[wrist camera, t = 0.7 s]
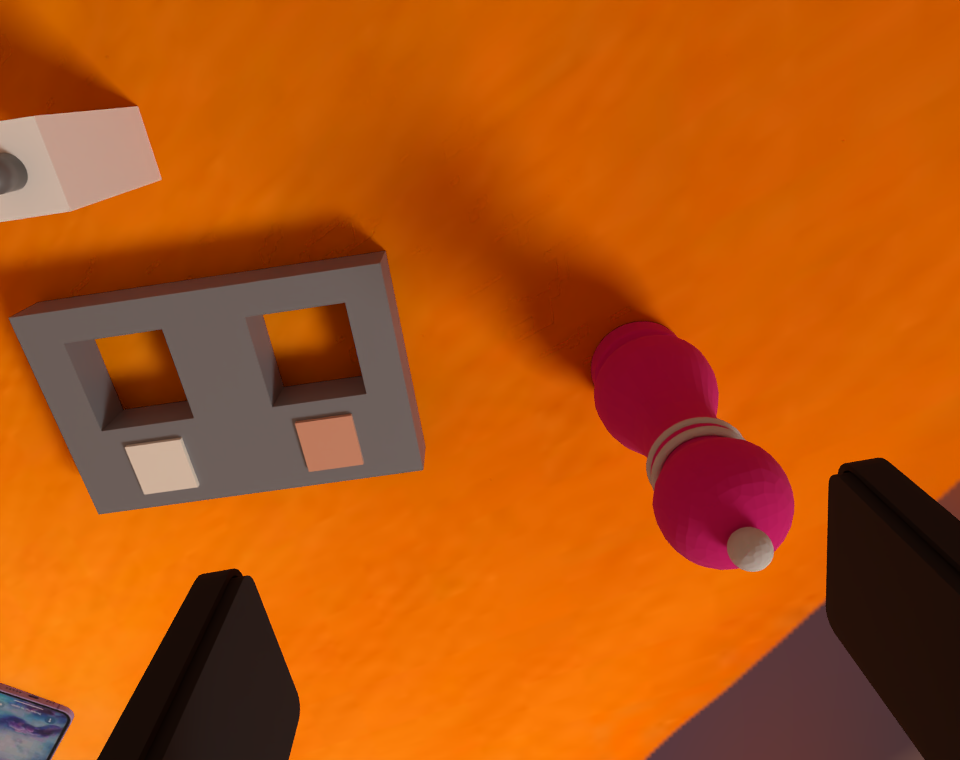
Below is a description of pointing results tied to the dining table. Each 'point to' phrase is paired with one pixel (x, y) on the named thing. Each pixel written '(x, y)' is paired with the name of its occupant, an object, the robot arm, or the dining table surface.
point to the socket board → (228, 387)
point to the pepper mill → (690, 450)
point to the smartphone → (30, 725)
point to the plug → (72, 160)
